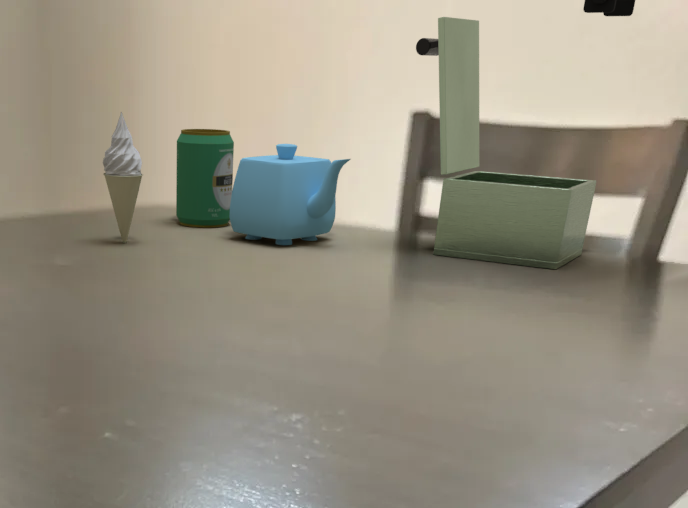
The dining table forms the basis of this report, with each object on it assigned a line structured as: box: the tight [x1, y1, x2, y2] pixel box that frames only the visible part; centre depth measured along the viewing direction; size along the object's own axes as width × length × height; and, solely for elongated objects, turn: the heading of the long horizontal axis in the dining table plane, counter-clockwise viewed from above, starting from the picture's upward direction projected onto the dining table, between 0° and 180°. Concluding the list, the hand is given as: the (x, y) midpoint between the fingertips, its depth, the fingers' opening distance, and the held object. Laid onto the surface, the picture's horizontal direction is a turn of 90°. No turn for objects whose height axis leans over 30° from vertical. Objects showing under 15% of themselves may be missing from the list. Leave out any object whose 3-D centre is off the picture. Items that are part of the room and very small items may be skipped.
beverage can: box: [175, 128, 235, 229], centre depth 138 cm, size 8×8×12 cm
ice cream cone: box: [102, 111, 144, 244], centre depth 122 cm, size 5×5×15 cm
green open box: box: [432, 170, 597, 270], centre depth 123 cm, size 16×13×9 cm
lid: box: [415, 16, 480, 176], centre depth 121 cm, size 16×13×5 cm
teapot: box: [229, 143, 352, 246], centre depth 128 cm, size 12×18×12 cm
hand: (608, 14), depth 109 cm, fingers open, 9 cm apart
